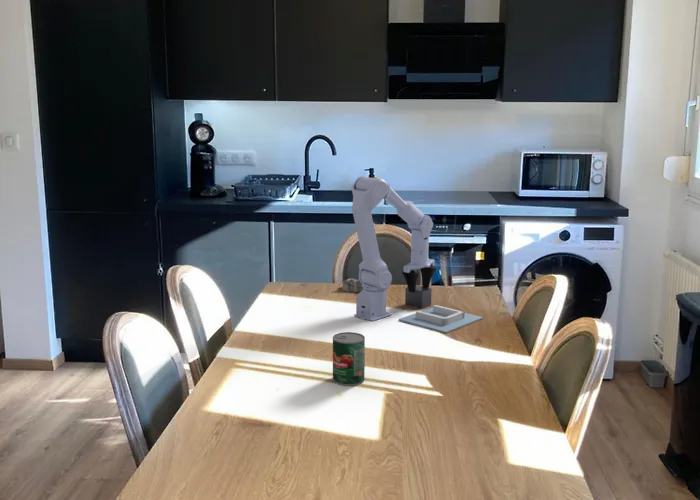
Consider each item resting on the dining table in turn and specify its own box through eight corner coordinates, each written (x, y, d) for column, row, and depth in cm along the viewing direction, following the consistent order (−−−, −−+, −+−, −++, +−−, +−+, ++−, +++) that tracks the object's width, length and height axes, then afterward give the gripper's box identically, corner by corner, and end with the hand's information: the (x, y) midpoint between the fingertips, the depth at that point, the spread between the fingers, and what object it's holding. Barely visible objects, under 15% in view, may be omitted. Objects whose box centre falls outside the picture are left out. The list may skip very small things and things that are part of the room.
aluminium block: (422, 309, 238) (422, 291, 237) (405, 304, 243) (405, 287, 241) (431, 306, 242) (431, 288, 240) (414, 301, 246) (414, 284, 245)
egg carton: (340, 291, 259) (340, 280, 258) (346, 286, 266) (346, 275, 265) (369, 294, 256) (369, 282, 255) (374, 288, 263) (374, 277, 262)
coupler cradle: (446, 333, 213) (446, 325, 213) (398, 320, 225) (398, 312, 224) (482, 318, 228) (483, 311, 227) (436, 307, 239) (436, 300, 239)
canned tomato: (368, 375, 181) (368, 333, 178) (359, 387, 173) (360, 343, 171) (337, 372, 183) (337, 330, 180) (328, 383, 175) (328, 340, 173)
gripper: (416, 255, 230) (415, 296, 233) (442, 248, 241) (441, 287, 244) (398, 252, 235) (398, 292, 238) (425, 245, 245) (424, 284, 248)
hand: (418, 289), depth 241 cm, fingers open, 7 cm apart
